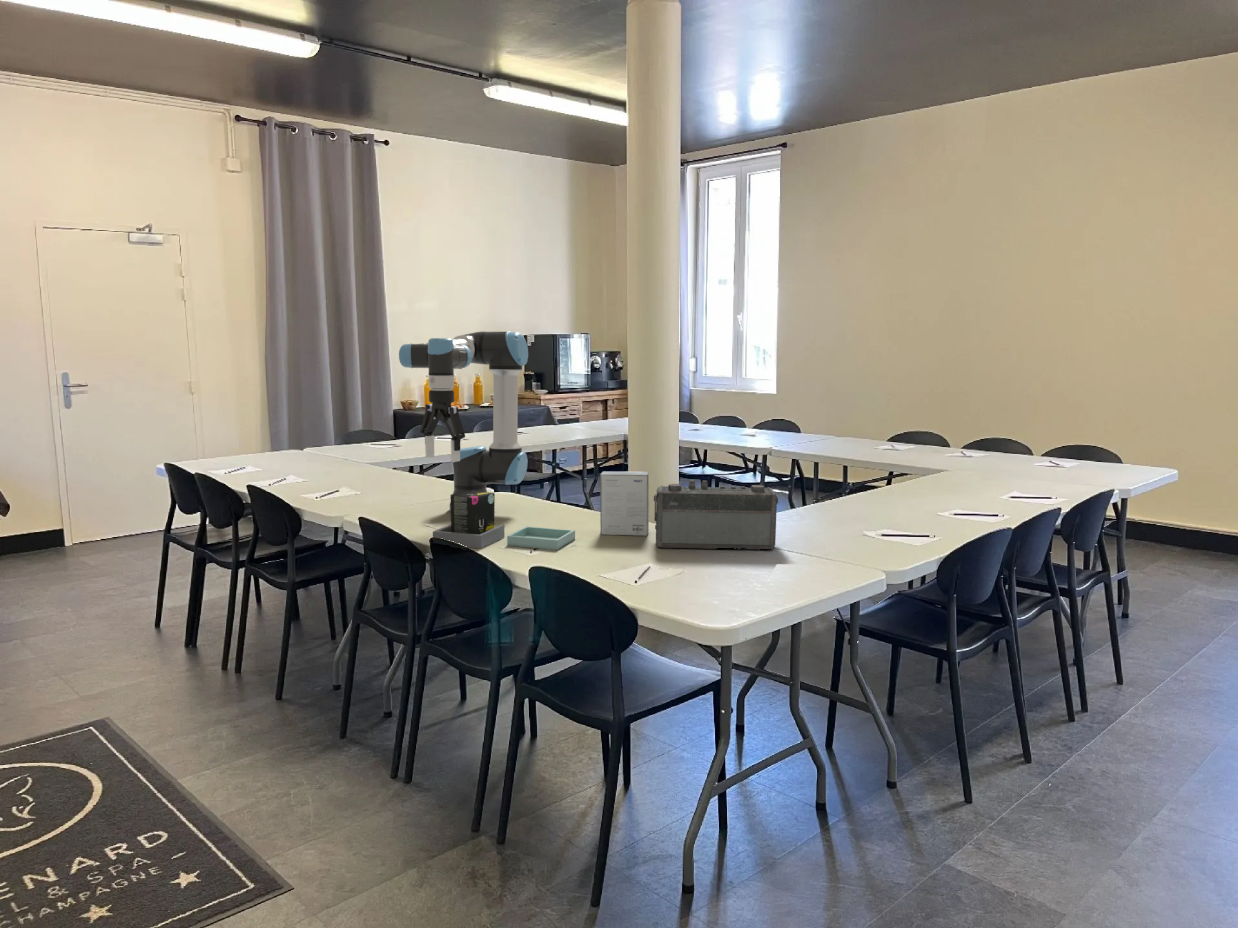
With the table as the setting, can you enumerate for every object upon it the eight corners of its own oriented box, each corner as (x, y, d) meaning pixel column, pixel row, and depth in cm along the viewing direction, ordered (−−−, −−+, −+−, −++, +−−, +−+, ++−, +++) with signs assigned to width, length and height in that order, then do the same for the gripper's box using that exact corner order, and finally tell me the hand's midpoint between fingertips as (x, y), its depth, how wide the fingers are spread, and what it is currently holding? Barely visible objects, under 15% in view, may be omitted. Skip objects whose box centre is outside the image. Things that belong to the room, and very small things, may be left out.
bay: (458, 533, 287) (457, 521, 287) (504, 537, 282) (504, 525, 282) (432, 544, 272) (432, 531, 272) (481, 548, 267) (481, 535, 267)
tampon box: (472, 544, 273) (472, 497, 271) (450, 540, 278) (449, 494, 275) (495, 537, 282) (495, 492, 280) (473, 534, 287) (473, 489, 285)
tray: (526, 535, 285) (526, 526, 285) (575, 539, 280) (575, 530, 280) (507, 545, 272) (507, 535, 271) (557, 550, 267) (557, 540, 266)
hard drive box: (649, 531, 294) (649, 471, 291) (647, 536, 286) (648, 475, 283) (602, 529, 295) (602, 470, 292) (599, 534, 288) (599, 473, 285)
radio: (653, 549, 269) (654, 484, 266) (653, 538, 283) (654, 476, 281) (778, 551, 268) (781, 486, 265) (772, 541, 282) (774, 478, 279)
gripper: (408, 388, 275) (409, 456, 278) (455, 392, 258) (456, 464, 261) (428, 387, 280) (429, 453, 283) (476, 391, 263) (477, 462, 266)
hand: (442, 459), depth 272 cm, fingers open, 13 cm apart
